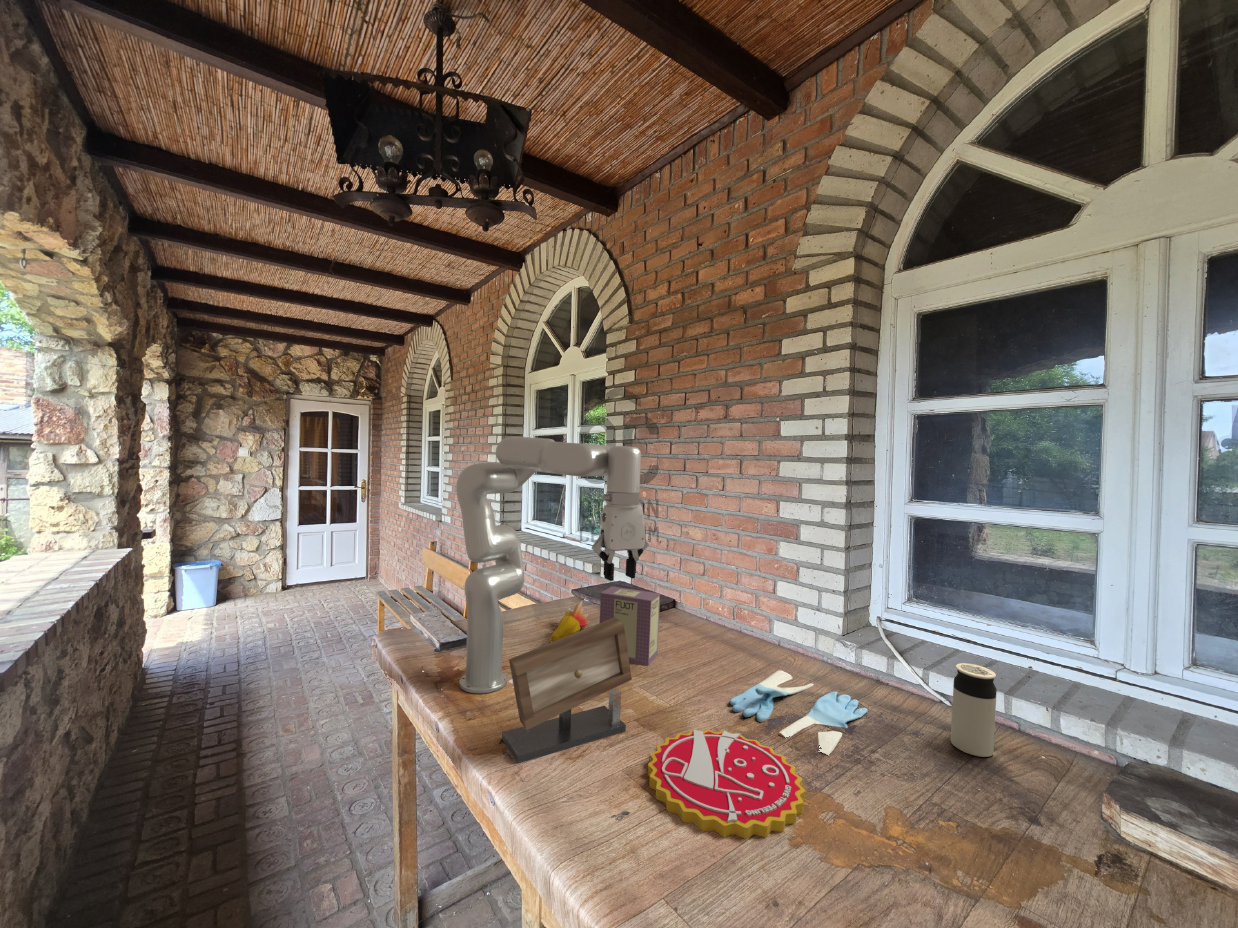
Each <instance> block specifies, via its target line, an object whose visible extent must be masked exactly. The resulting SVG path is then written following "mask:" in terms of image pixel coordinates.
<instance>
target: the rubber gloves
mask: <svg viewBox="0 0 1238 928" xmlns="http://www.w3.org/2000/svg"><path fill="white" fill-rule="evenodd" d="M792 679H793V676H792V675H791V674H789V673H788V672H785V671H784V670H781V669H779V670H776V671H775V672H774V673H772V674H770V675H769V676H768V677H766V678H765V679H764V680H762V681H761V682H759V683H758V684H755V685H753V686H751V687H750V688H748V689H747V690H745V691H744V692H742V693H740V694H738V695H737V696H734V697H732V698H730V699H729V704H730V705H731V706H732V707H731V708H732V711H733V712H735V713H741V712H742V715H743V717H745V718H749V717H752V716H756V720H757V721H758V722H759V723H762V722H765V721H767V720H768V719H769V718H770V716H771V715H772V713H773V711H774V698H777V697H785V696H788V695H795V694H798V693H802V692H803V691H806V690H808V689H810V688H812V687H814V686H815V685H814V683H807V684H805V685H802V686H795V687H779V685H781V684H783V683H786V682H787V681H790V680H792ZM762 695H763V696H762ZM859 704H860V703H859V700H857V699H852V697H851V696H850V695H848V694H841V695H839V692H838V691H830V692H828V693H826V694H825V695H822V696H821V697H819V698H818V699H817V700H816V702H815V703H814V705H812V707H811V709H809V710H810V711H809V712H808V713H807V714H806V715H805V716H803V717H801V718H798V720H795V722H793V723H791V724H789V725H788V726H787V727H785V728H783V729H781V731H779V732H778V735H779V736H780V737H782V738H784V737H785V738H784V739H787V738H786V737H789V736H790V737H792V736H793V735H795V734H797V733H798V732H800V731H801V730H803V729H805V728H807V727H810V726H811V725H814V724H815V725H823V726H824V725H826V726H832V727H837V728H844V729H848V728H849V726H848V722H850V721H854V720H857V719H861V718H863V716H865V715H867V714H868V711H869V710H868V709H867V708H866V707H860V708H858V706H859ZM842 736H843V733H842V732H840V731H836V730H830V731H818V733H817V738H818V745H820V746H819V748H820V747H821V748H822V749H819V750H820V751H818V752H817V753H820V752H822V753H823V754H822V753H821V754H822V755H824V754H826V755H828V756H827V757H829V756H830V755H831V754H832V752H833V751H834V749H835V748H836V746H837V745H838V744H839V742H840V740H841V738H842ZM790 737H789V738H790ZM830 753H831V754H830ZM829 754H830V755H829ZM826 755H825V756H826Z"/></svg>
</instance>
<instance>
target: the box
mask: <svg viewBox="0 0 1238 928" xmlns="http://www.w3.org/2000/svg"><path fill="white" fill-rule="evenodd" d="M660 595H661V594H660V593H659V592H652V591H647V590H646V591H645V590H639V589H632V588H626V587H618V586H613V585H612V586H610V587H608V588H606V589H605V590H602V591H601V592H600V597H599V598H600V601H599V604H600V605H599V623H602V622H604V621H607V620H609V619H612V618H614V617H615V618H617V619H618V620H620V621H622V622H623V623H624V629H625V636H626V643H627V650H628V657H629V663H633V664H637V665H641V666H647V667H649V666H650V664H651V663H653V661H654V660H655V659H656V658H657V656H658V655H659V654H658V653H659V652H658V650H659V630H660V629H659V625H660V624H659V623H660V607H661V606H660V603H661V602H660V600H661V599H660V598H661V596H660Z"/></svg>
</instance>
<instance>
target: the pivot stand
mask: <svg viewBox="0 0 1238 928" xmlns="http://www.w3.org/2000/svg"><path fill="white" fill-rule="evenodd" d="M608 692H609V693H608V707H607V706H605V705H601V706H598V707H594V708H590V709H586V710H582V711H579V712H574V713H572V709H570V710H567V711H565V712H563V713H561V714H559V715H558V717H554V718H551V719H549V720H547V721H545V722H543V723H540V724H538V725H536V726H534V727H532V728H530V729H528V730H526V729H525V727H524V726H521V727H516V728H513V729H509V730H505V731H501V741H502V742H503V743H504V745H505V746H506V748H507V749H508V751H509V753H510V754H511V756H512V757H513V760H514V761H515V762H516V764H521V763H525V762H528V761H530V760H534V759H537V758H540V757H541V758H542V757H544V756H547V755H551V754H554V753H558V752H561V751H564V750H568V749H571V748H574V747H578V746H581V745H585V744H589V743H590V742H594V741H598V740H601V739H604V738H609V737H611V736H614V735H618V734H622V733H625V732H626V728H627V725H626V724H625V722H624V721H622V720H621V706H622V704H621V703H622V692H621V691H620V690H619V689H618V688H613V689H611V690H609V691H608Z"/></svg>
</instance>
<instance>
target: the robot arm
mask: <svg viewBox="0 0 1238 928" xmlns="http://www.w3.org/2000/svg"><path fill="white" fill-rule="evenodd" d="M641 452H642V451H641V450H640V448H638V447H636V446H629V445H615V446H611V445H607V444H598V443H597V444H596V443H576V442H565V441H555V440H554V439H553V438H552V439H551V438H543V437H531V436H529V437H528V436H518V435H517V436H508V437H505V438H503V439H502V440H500V441H499V442H498V444H497V446H496V448H495V456H496V459H497V461H498V462H499V463H498V462H480V463H479V462H478V463H474V464H473V463H472V464H470V465H469V466H466V467H465V468H463V470H462V471H461V472H460V474H459V476H458V478H457V480H456V484H455V486H456V489H455V490H456V498H457V501H458V505H459V509H460V512H461V518H462V527H463V528H462V529H463V535H464V545H465V550H466V551H465V552H466V555H467V558H468V559H469V560H470V562H473V563H477V564H482V563H487V562H492V561H494V562H495V564H494V565H489V566H485V567H482V568H481V567H480V568H478V569H476V570H473V571H472V572H471V573H470V574H469V575H468V576H467V578H466V579H465V583H464V594H465V601H466V613H467V616H466V617H467V620H466V621H467V623H466V650H465V651H466V652H465V654H466V655H465V657H466V658H465V674H464V675H462V676H461V677H460V679H459V683H458V685H459V687H460V689H462V690H463V691H464V692H466V693H471V694H486V693H487V694H489V693H492V692H497V691H499V690H500V689H502V688H504V687H505V686H506V685H507V684H508V683H507V682H508V676H507V673H505V672H503V669H502V668H503V646H504V645H503V644H504V643H503V642H504V614H503V611H502V609H501V607H500V605H499V601H501V600H503V599H505V598H509V597H512V596H514V595H517V594H518V593H519V592H520V591H521V590H522V589H523V587H524V583H525V570H524V563H523V555H522V548H521V547H522V546H521V545H522V544H521V541H520V537H519V534H518V533H517V531H516V530H515V529H514V528H513V527H511V526H509V525H507V524H499V525H497V524H496V519H495V512H494V508H493V506H492V504H491V502H490V501H489V500H488V499H487V497H486V496H487V495H496V494H497V495H498V494H508V493H513V492H515V491H517V490H518V489H520V488H521V487H522V486H523V485H524V484H525V483H526V482H527V481H529V479H530V478H531V477H533V475H534V474H535V473H536V472H540V473H546V474H554V475H564V476H571V477H572V476H573V477H606V478H607V479H606V481H607V482H606V492H605V494H602V496H601V501H603V502H605V505H603V508H602V513H601V516H600V517H601V518H600V523H599V530H598V531H599V533H598V538H597V539H596V540H595V542H594V543H593V545H591V550H592V551H593V552H594V553H595V554H597V556H598V557H599V558H600V559H601V561H602V562H603V578H604V579H605V580H608V581H609V582H612V581H614V578H615V563H613V560H614V556H615V554H616V552H620V551H621V552H622V551H624V552H625V551H626V552H627V557H628V558H626V560H625V576H626V577H628V578H630V579H635V578H636V574H637V561H639V559H640V556H642V554H643V553H644V551H646V549H647V548H648V547H649V546H650V545H649V542H648V540H647V539H646V532H645V531H646V530H645V529H646V528H645V517H644V511H643V506H642V505H640V489H641V488H640V485H641V483H640V482H641V464H642V463H641V461H642V459H641V458H642V453H641ZM602 548H603V549H602Z"/></svg>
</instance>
